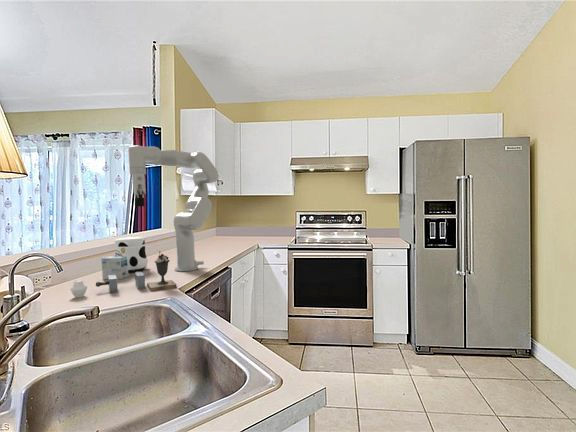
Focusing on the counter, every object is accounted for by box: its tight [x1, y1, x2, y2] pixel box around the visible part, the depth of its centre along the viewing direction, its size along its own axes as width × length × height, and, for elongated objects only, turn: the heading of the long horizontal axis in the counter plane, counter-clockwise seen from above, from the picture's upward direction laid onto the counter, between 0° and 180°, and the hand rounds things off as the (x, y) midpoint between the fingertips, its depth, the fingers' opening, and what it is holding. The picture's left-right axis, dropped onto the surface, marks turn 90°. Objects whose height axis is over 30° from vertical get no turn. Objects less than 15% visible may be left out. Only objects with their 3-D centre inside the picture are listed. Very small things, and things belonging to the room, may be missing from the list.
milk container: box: [114, 236, 149, 273], centre depth 214 cm, size 17×17×18 cm
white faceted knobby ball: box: [69, 279, 88, 299], centre depth 159 cm, size 6×6×7 cm
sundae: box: [154, 250, 170, 285], centre depth 172 cm, size 7×7×15 cm
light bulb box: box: [101, 255, 129, 280], centre depth 196 cm, size 11×7×11 cm, turn 84°
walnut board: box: [146, 279, 178, 292], centre depth 172 cm, size 11×11×2 cm
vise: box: [95, 271, 146, 294], centre depth 170 cm, size 20×10×6 cm, turn 117°
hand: (139, 206), depth 189 cm, fingers open, 9 cm apart
